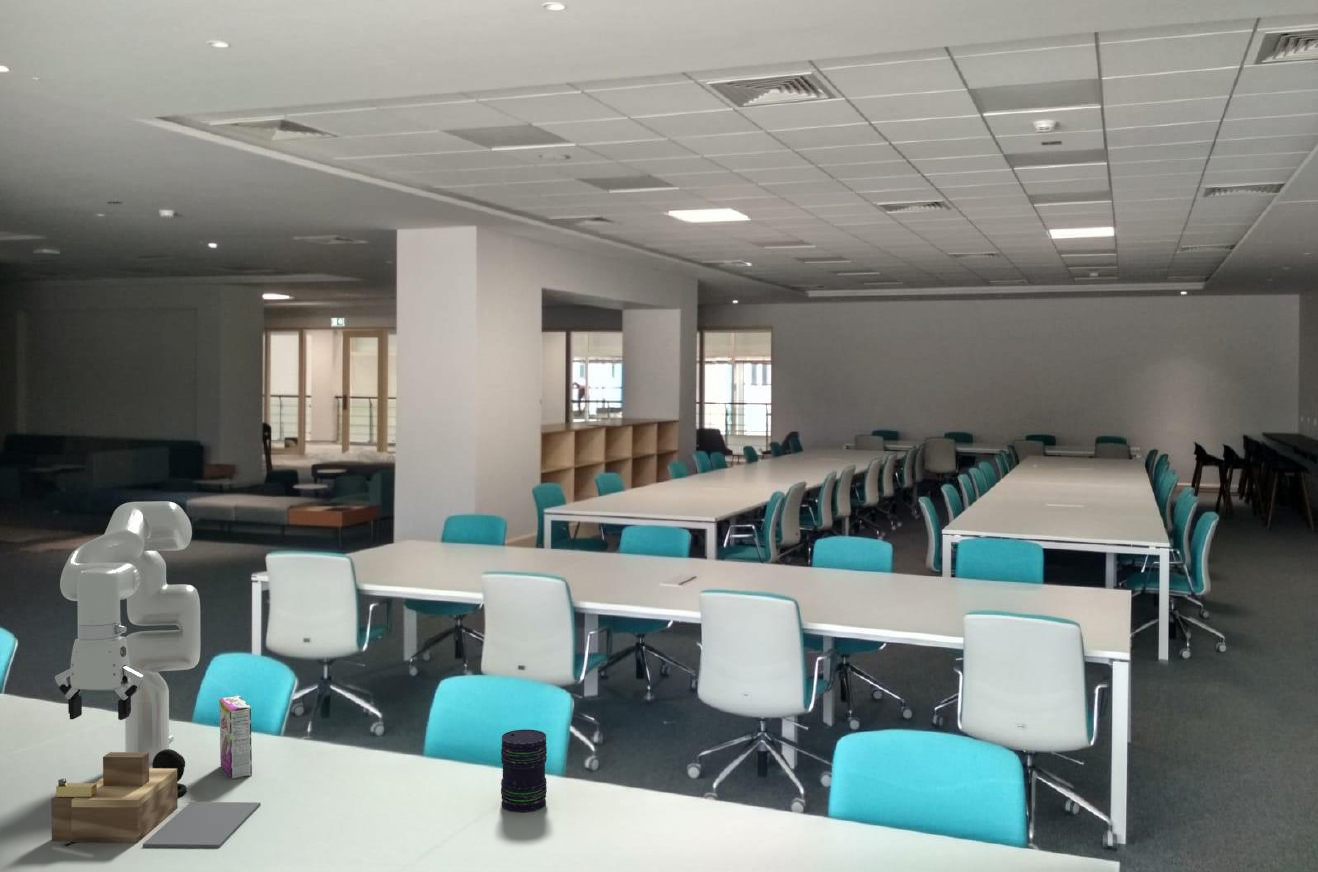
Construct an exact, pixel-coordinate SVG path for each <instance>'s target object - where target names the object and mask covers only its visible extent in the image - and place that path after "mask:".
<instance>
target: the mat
mask: <svg viewBox="0 0 1318 872" xmlns="http://www.w3.org/2000/svg"><path fill="white" fill-rule="evenodd" d="M261 804H262V803H261V802H255V801H254V802H243V801H242V802H241V801H240V802H236V801H234V802H233V801H229V802H228V801H225V802H223V801H190V802H189V803H188V804H187V805H186V806H185V807H183V808H182V809H181V810H179V812H178V813H177V814H175V815H174V816H173V817H172V818H171V819H169V820H168V821H167V822H166V823H165V824H164V825H162V826H161V827H160V828H159V829H158V830H157V831H156V832H155V833H154V834H152V835H151V836H150V837H149V838H148V839H147V840H145V842H143V843H142V847H143V848H200V849H201V848H203V849H205V848H208V849H209V848H213V849H215V848H217V849H219V848H221V847H222V846H224V845H223V844H225V843H226V842H227V841H228V840H229V838H231V836H233V834H234V833H235V832H236V831H238V829H239V828H240V827H241V826H242V825H244V823H245V822H246V821H247V820H248V819H249V818H250V817H251V816H252V815H253V814H254V812H256V811H257V809H259V808H260V807H261Z"/></svg>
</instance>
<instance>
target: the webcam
mask: <svg viewBox="0 0 1318 872" xmlns="http://www.w3.org/2000/svg"><path fill="white" fill-rule="evenodd" d="M152 767H153V768H161V769H177V797H178V798H180V797H182V796H184V795H185V794H186V793H187V791H188V788H187V786H186V784H182V783H180V782H179V781H180V780H181V779H182V777H183V775H184V773H185V767H186V760H185V758H184V757H183V755H182V754H180V753H179V752H177V751H176V750H174V749H170V748H169V749H165V750H162V751H160V752H158V753H157V754H156V756H155V757H154V760H153V764H152Z"/></svg>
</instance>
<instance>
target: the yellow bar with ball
mask: <svg viewBox="0 0 1318 872" xmlns="http://www.w3.org/2000/svg"><path fill="white" fill-rule="evenodd" d="M57 783H58V784H57V785H56V786H55V793H56V794H55V795H56V797H92V796H94V795H95V794H96V793H97V783H96V782H92V783H90V782H89V783H87V782H85V783H84V782H77V783H76V782H75V783H74V782H67V778H60V779H58V781H57Z"/></svg>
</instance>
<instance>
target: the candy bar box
mask: <svg viewBox="0 0 1318 872" xmlns="http://www.w3.org/2000/svg"><path fill="white" fill-rule="evenodd" d="M218 701H219V709H218V710H219V741H220V742H219V745H220V746H219V748H220V749H219V750H220V755H219V756H220V759H219V760H220V767H221V768H222V769H223V770H224V772H225V773H226V774H227V775H228V776H229V778H230V779H231V780H236V779H240V778H247V777H250V776H252V775H253V766H252V765H253V761H252V760H253V759H252V758H253V755H252V754H253V753H252V752H253V751H252V707H251V706H250V705H249V703H247V702H246V701H245V700H244V699H243V698H242V696H240V695H234V696H227V697H221V698H219V700H218Z"/></svg>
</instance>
